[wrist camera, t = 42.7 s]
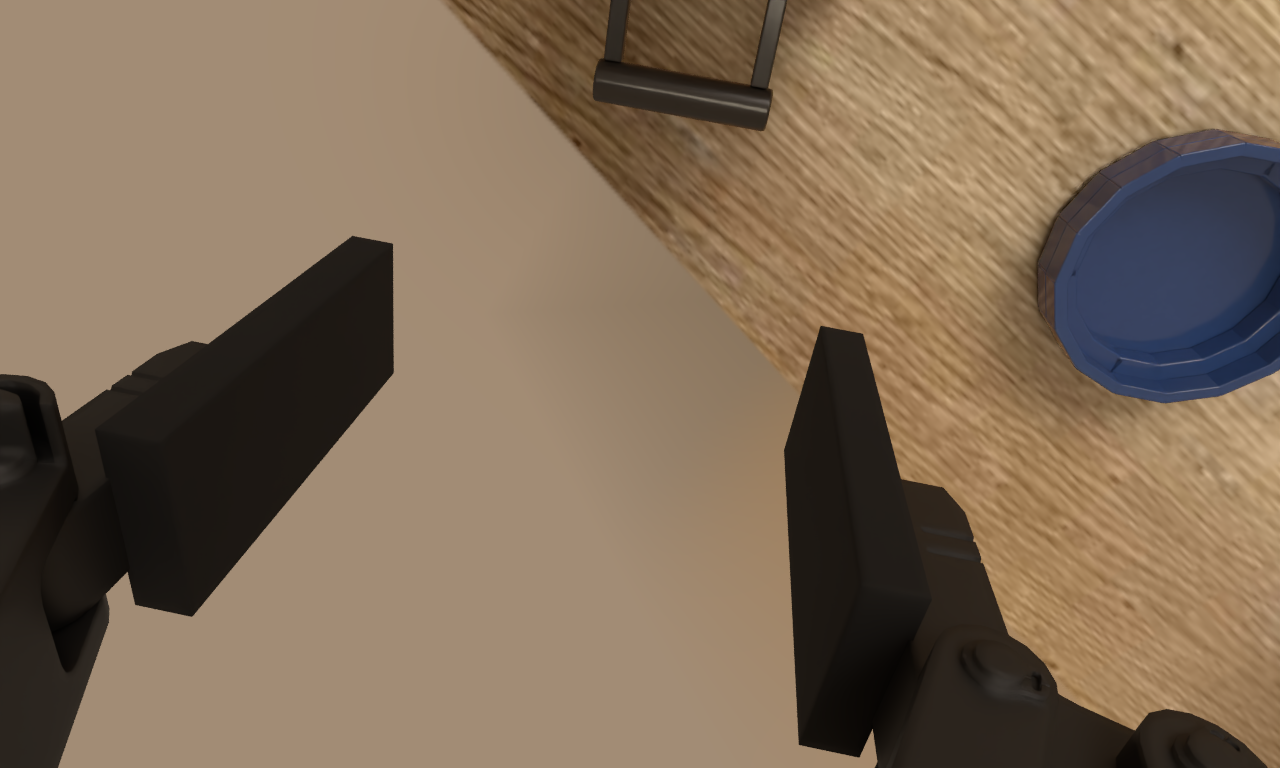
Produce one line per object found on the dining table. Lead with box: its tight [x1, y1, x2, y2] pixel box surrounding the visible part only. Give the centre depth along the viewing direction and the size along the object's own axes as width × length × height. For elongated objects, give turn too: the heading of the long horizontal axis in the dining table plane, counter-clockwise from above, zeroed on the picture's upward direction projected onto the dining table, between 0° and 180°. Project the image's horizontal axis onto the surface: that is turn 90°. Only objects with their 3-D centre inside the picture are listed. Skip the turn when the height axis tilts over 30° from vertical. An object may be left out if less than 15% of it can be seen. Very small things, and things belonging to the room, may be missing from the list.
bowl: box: [1038, 129, 1280, 403], centre depth 32 cm, size 11×11×3 cm
